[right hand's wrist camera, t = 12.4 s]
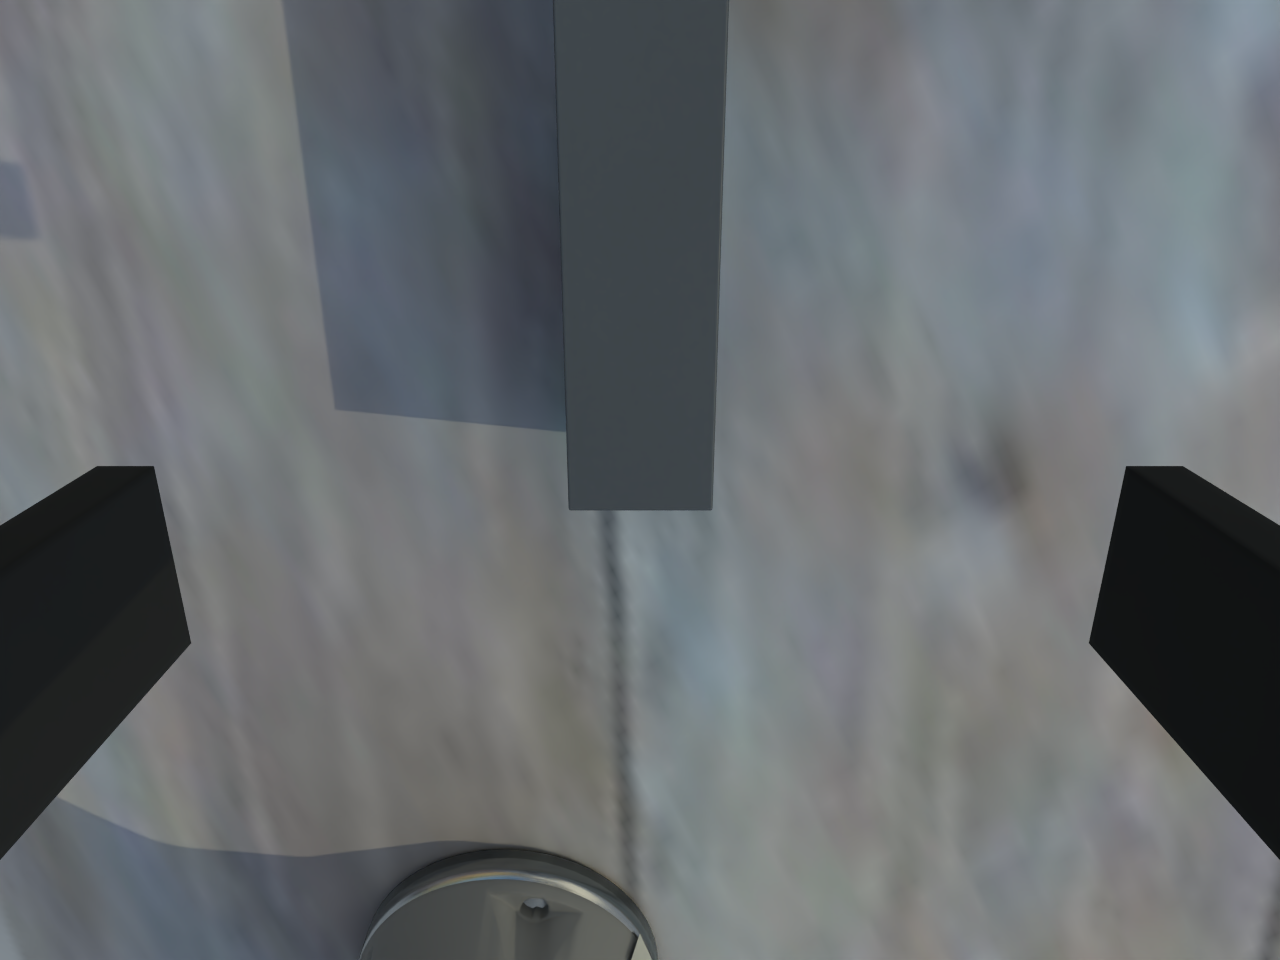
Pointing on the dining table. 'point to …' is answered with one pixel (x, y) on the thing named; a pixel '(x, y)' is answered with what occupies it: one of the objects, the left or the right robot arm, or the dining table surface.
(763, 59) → the dining table surface
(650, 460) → the post
